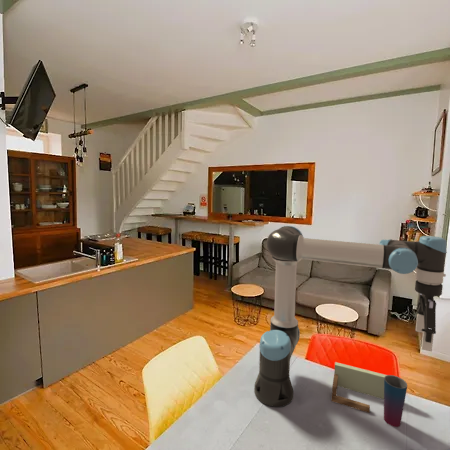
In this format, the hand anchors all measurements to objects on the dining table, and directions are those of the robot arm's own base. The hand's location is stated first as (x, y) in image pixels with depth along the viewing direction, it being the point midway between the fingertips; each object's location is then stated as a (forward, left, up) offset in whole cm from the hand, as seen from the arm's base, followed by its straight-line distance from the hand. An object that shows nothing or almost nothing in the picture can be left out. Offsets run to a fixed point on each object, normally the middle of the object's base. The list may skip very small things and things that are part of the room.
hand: (423, 340), depth 99 cm
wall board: (-16, +3, -28) cm, 32 cm away
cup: (-8, -8, -28) cm, 30 cm away
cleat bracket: (-22, -2, -28) cm, 35 cm away
